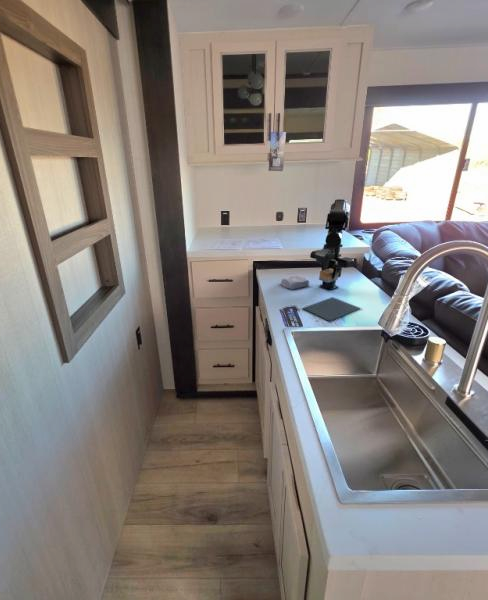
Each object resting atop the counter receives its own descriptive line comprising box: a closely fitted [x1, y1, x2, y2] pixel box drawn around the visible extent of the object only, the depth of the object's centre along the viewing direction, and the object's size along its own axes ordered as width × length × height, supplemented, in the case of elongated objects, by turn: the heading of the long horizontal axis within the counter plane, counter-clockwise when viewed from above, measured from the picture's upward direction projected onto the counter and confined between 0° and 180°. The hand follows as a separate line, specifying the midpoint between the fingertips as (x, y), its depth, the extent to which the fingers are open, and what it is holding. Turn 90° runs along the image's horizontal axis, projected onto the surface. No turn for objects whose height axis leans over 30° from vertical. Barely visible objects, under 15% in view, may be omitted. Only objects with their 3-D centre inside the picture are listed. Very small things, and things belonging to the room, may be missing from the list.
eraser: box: [318, 268, 339, 283], centre depth 136 cm, size 7×4×4 cm, turn 124°
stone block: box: [280, 275, 310, 290], centre depth 158 cm, size 12×5×10 cm
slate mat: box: [302, 297, 361, 322], centre depth 133 cm, size 20×14×1 cm
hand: (328, 277), depth 137 cm, fingers closed on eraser, 4 cm apart
